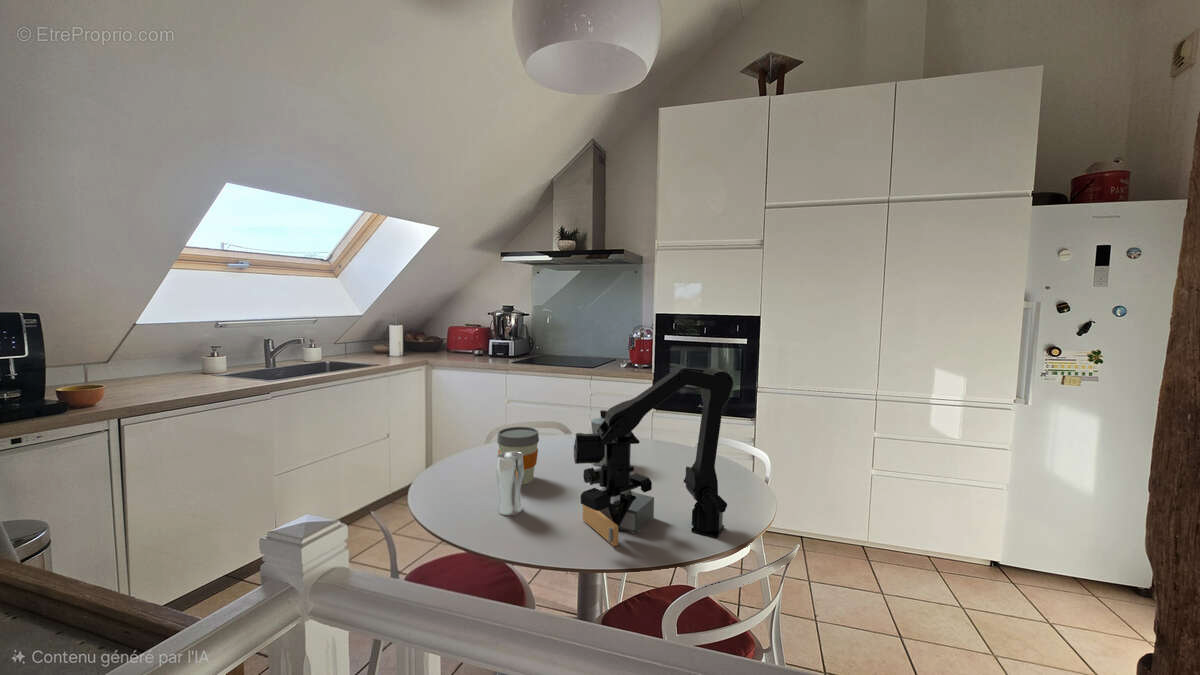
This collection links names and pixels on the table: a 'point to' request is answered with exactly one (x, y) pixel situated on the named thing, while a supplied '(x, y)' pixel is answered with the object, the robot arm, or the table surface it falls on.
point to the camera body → (635, 513)
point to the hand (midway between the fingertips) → (616, 525)
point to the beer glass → (510, 481)
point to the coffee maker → (595, 426)
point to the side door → (601, 524)
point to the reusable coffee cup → (521, 447)
